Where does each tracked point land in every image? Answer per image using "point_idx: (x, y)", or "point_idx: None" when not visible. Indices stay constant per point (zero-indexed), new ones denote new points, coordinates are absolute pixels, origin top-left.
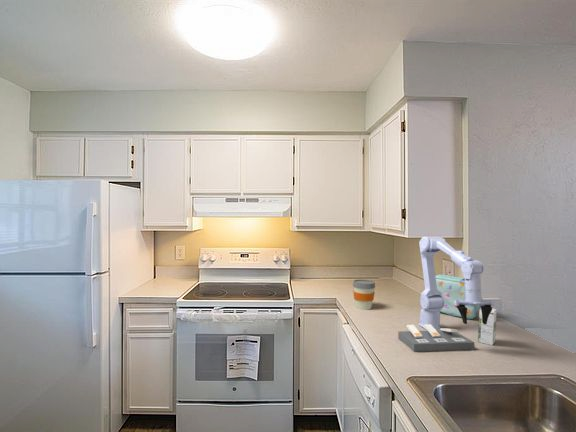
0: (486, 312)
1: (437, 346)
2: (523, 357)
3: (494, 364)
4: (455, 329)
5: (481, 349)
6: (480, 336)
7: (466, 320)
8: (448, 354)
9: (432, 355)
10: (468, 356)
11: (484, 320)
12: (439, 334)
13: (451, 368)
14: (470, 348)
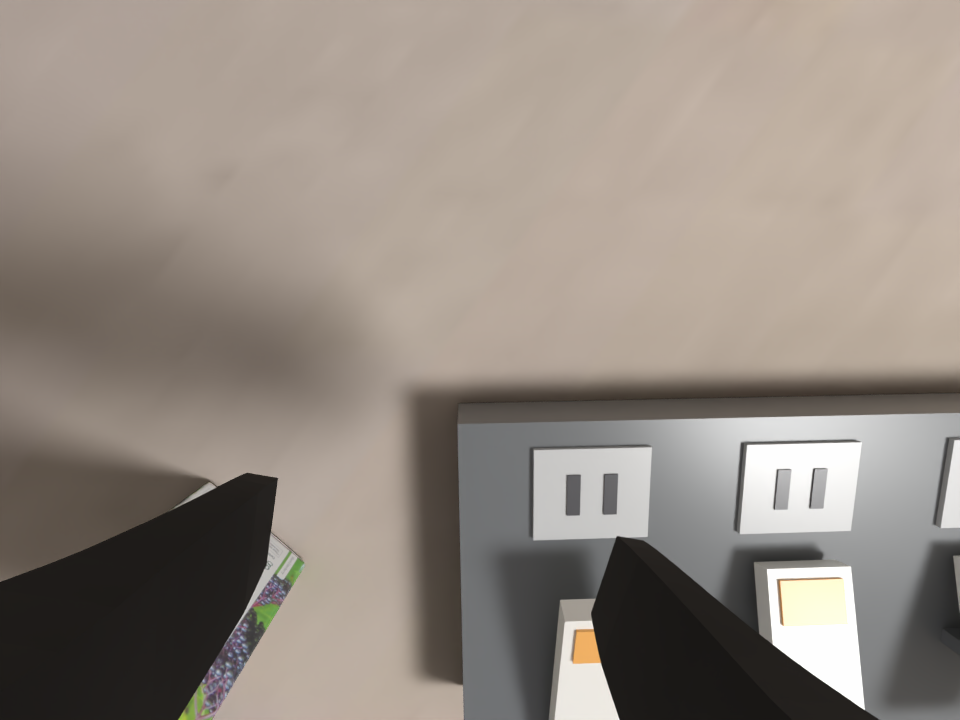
0: (32, 654)
1: (857, 405)
2: (81, 204)
3: (486, 77)
4: (579, 643)
5: (383, 404)
6: (267, 585)
7: (660, 573)
8: (770, 318)
9: (928, 308)
10: (614, 264)
11: (239, 539)
12: (770, 588)
13: (945, 33)
14: (498, 405)
